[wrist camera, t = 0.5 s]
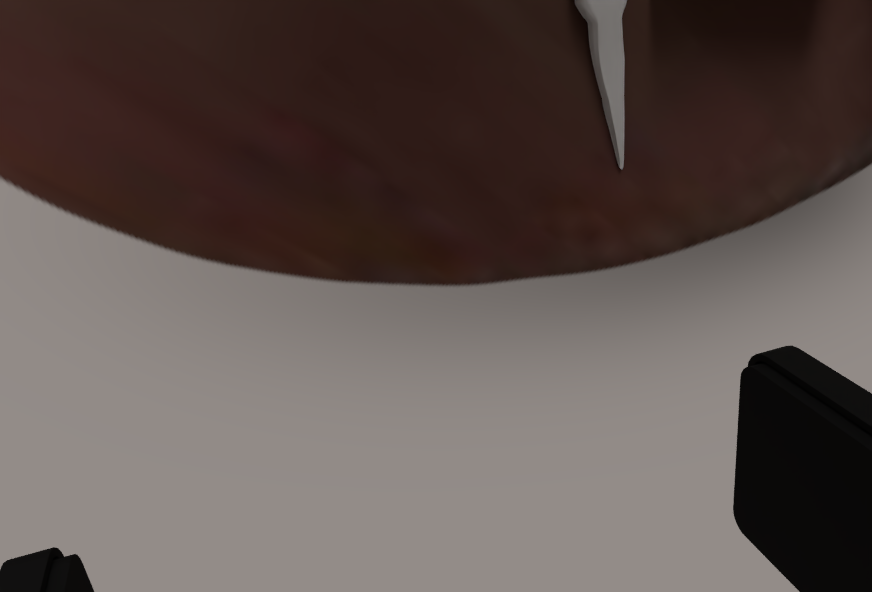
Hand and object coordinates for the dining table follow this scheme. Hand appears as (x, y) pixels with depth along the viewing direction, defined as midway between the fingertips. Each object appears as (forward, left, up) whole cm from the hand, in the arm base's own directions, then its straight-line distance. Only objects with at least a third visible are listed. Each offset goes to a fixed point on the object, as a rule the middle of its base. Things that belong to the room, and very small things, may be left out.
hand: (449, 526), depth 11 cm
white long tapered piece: (-5, +17, -30) cm, 35 cm away
